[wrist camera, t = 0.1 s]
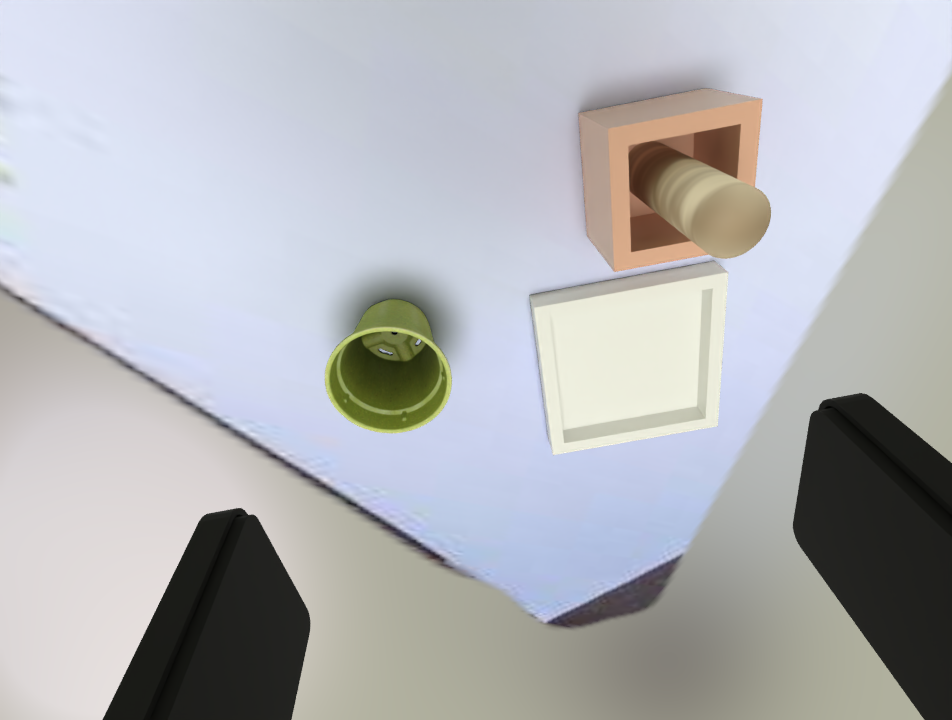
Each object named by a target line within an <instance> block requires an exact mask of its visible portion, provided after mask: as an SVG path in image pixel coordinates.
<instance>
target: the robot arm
mask: <svg viewBox="0 0 952 720" xmlns="http://www.w3.org/2000/svg"><path fill="white" fill-rule="evenodd" d="M793 530H794V534H795V537H796V539H797V542H798V544H799V545H800V547H801V548H802V550H803V551H804V553H805V554H806V555H807V556H808V558H809V560H810V561H811V562H812V563H813V565H814V567H815V568H816V569H817V571H818V572H819V574H820V575H821V576H822V578H823V579H824V580H825V582H826V583H827V585H828V586H829V587H830V589H831V590H832V592H833V593H834V594H835V596H836V597H837V599H838V600H839V601H840V603H841V604H842V605H843V607H844V608H845V610H846V611H847V613H848V614H849V615H850V617H851V618H852V619H853V621H854V622H855V624H856V625H857V626H858V628H859V629H860V631H861V632H862V633H863V635H864V636H865V638H866V639H867V640H868V642H869V643H870V645H871V646H872V647H873V649H874V650H875V652H876V653H877V654H878V656H879V657H880V658H881V660H882V661H883V663H884V664H885V665H886V667H887V668H888V670H889V671H890V672H891V674H892V675H893V677H894V678H895V679H896V681H897V682H898V683H899V685H900V686H901V688H902V689H903V690H904V692H905V693H906V695H907V696H908V697H909V699H910V700H911V702H912V703H913V704H914V706H915V707H916V708H917V710H918V711H919V713H920V714H921V716H922V717H923V718H924V719H925V720H952V463H951V462H950V461H948V460H947V459H946V458H945V457H943V456H942V455H941V454H940V453H939V452H937V451H936V450H935V449H934V448H932V447H931V446H930V445H929V444H928V443H926V442H925V441H924V440H923V439H922V438H920V437H919V436H918V435H917V434H916V433H914V432H913V431H912V430H911V429H910V428H908V427H907V426H906V425H904V424H903V423H902V422H901V421H900V420H899V419H897V418H896V417H895V416H893V414H891V413H890V412H889V411H888V410H886V409H885V408H884V407H883V406H882V405H880V404H879V403H878V402H877V401H876V400H874V399H873V398H872V397H870V396H868V395H867V394H862V393H859V394H854V395H848V396H843V397H838V398H832V399H827V400H824V401H823V402H822V403H821V404H820V406H819V409H818V410H817V411H814V412H813V413H812V414H811V417H810V421H809V427H808V434H807V440H806V447H805V452H804V458H803V465H802V471H801V478H800V483H799V490H798V496H797V502H796V509H795V514H794V521H793ZM309 633H310V617H309V613H308V610H307V608H306V606H305V604H304V602H303V600H302V598H301V597H300V595H299V593H298V591H297V589H296V587H295V586H294V584H293V582H292V580H291V579H290V577H289V575H288V573H287V571H286V569H285V567H284V566H283V564H282V562H281V560H280V558H279V556H278V555H277V553H276V551H275V549H274V547H273V546H272V544H271V542H270V540H269V538H268V536H267V534H266V533H265V531H264V529H263V527H262V525H261V523H260V522H259V520H258V518H257V517H256V516H255V515H248V514H247V513H246V512H245V510H243V509H241V508H236V509H231V510H226V511H220V512H215V513H209V514H206V515H204V516H203V517H202V518H201V520H200V521H199V523H198V525H197V527H196V529H195V531H194V533H193V535H192V537H191V540H190V541H189V543H188V545H187V548H186V550H185V552H184V554H183V556H182V558H181V560H180V562H179V564H178V566H177V568H176V570H175V572H174V574H173V576H172V578H171V581H170V582H169V585H168V587H167V589H166V591H165V593H164V595H163V597H162V599H161V601H160V603H159V605H158V607H157V609H156V611H155V613H154V615H153V617H152V619H151V622H150V624H149V626H148V628H147V630H146V632H145V634H144V636H143V638H142V640H141V642H140V644H139V646H138V648H137V650H136V652H135V654H134V657H133V658H132V661H131V663H130V665H129V667H128V669H127V671H126V673H125V675H124V677H123V679H122V681H121V683H120V685H119V687H118V689H117V691H116V694H115V695H114V698H113V700H112V702H111V704H110V706H109V708H108V710H107V712H106V714H105V716H104V718H103V720H291V719H292V714H293V709H294V705H295V700H296V694H297V690H298V685H299V680H300V676H301V671H302V666H303V661H304V657H305V652H306V647H307V643H308V638H309Z"/></svg>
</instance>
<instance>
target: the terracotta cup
mask: <svg viewBox="0 0 952 720" xmlns="http://www.w3.org/2000/svg"><path fill="white" fill-rule="evenodd" d="M761 111H762V99H761V98H755V97H750V96H745V95H740V94H735V93H729V92H724V91H719V90H714V89H709V88H704V89H699V90H694V91H688V92H683V93H678V94H673V95H668V96H663V97H658V98H652V99H647V100H642V101H637V102H632V103H627V104H622V105H616V106H611V107H606V108H601V109H596V110H591V111H586V112H580V113H578V115H579V130H580V144H581V158H582V173H583V187H584V202H585V216H586V230H587V237H588V238H589V239H590V241H591V242H592V243H593V245H594V246H595V247H596V248H597V250H598V251H599V252H600V254H601V255H602V256H603V258H604V259H605V260H606V262H607V263H608V264H609V266H610V267H611V268H612V269H613V271H614V272H616V271H622V270H627V269H632V268H638V267H643V266H649V265H654V264H659V263H665V262H670V261H676V260H681V259H686V258H692V257H697V256H703V255H708V253H706V252H705V251H704V250H702V249H701V248H700V247H699V246H697V245H696V244H695V243H694V242H692V241H691V240H690V239H689V238H687V237H686V236H685V235H684V234H682V233H681V232H680V231H678V230H677V229H676V228H675V227H673V226H672V225H671V224H670V223H668V222H667V221H666V220H665V219H663V218H662V217H661V216H660V215H658V214H657V213H656V212H655V211H653V210H652V209H651V208H650V207H648V206H647V205H646V204H645V203H643V202H642V201H641V200H640V199H638V198H637V197H636V196H635V195H633V194H632V193H631V192H630V191H629V160H628V153H629V152H630V151H631V150H632V149H633V148H634V147H635V146H637V145H639V144H641V143H644V142H649V141H656V142H660V143H662V144H664V145H666V146H669V147H671V148H673V149H675V150H677V151H679V152H681V153H683V154H685V155H688V156H690V157H692V158H694V159H696V160H698V161H700V162H702V163H704V164H707V165H709V166H711V167H713V168H715V169H717V170H719V171H721V172H723V173H726V174H728V175H730V176H732V177H734V178H736V179H738V180H740V181H742V182H745V183H747V184H749V185H751V186H753V187H755V179H756V167H757V156H758V145H759V133H760V122H761Z"/></svg>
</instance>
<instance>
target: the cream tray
mask: <svg viewBox="0 0 952 720" xmlns="http://www.w3.org/2000/svg"><path fill="white" fill-rule="evenodd" d="M727 284H728V272H727V271H726V270H725V269H724V268H722V267H721V266H720V265H719V264H718V263H716V262H715V261H711V262H706V263H700V264H695V265H690V266H684V267H679V268H673V269H668V270H662V271H657V272H652V273H646V274H641V275H635V276H630V277H625V278H619V279H614V280H608V281H603V282H598V283H592V284H587V285H581V286H576V287H570V288H565V289H560V290H554V291H549V292H543V293H538V294H533V295H529V296H530V304H531V311H532V319H533V326H534V334H535V341H536V349H537V356H538V364H539V371H540V379H541V387H542V394H543V402H544V409H545V417H546V424H547V432H548V439H549V442H550V446H551V449H552V453H553V455H556V454H562V453H568V452H573V451H579V450H585V449H590V448H596V447H602V446H607V445H613V444H619V443H625V442H630V441H636V440H642V439H647V438H653V437H659V436H664V435H670V434H676V433H682V432H687V431H693V430H699V429H704V428H710V427H716V426H718V413H719V399H720V384H721V370H722V355H723V341H724V327H725V312H726V298H727Z"/></svg>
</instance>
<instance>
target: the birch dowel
mask: <svg viewBox="0 0 952 720" xmlns="http://www.w3.org/2000/svg"><path fill="white" fill-rule="evenodd" d="M628 160H629V191H630V192H631V193H632V194H633V195H635V196H636V197H637V198H638V199H640V200H641V201H642V202H643V203H645V204H646V205H647V206H648V207H650V208H651V209H652V210H653V211H655V212H656V213H657V214H658V215H660V216H661V217H662V218H663V219H665V220H666V221H667V222H668V223H670V224H671V225H672V226H673V227H675V228H676V229H677V230H678V231H680V232H681V233H682V234H684V235H685V236H686V237H687V238H689V239H690V240H691V241H692V242H694V243H695V244H696V245H697V246H699V247H700V248H701V249H702V250H704V251H705V252H706V253H708V254H709V255H711V256H713V257H716V258H722V259H727V258H733V257H737V256H739V255H742V254H744V253H746V252H747V251H749V250H750V249H751V248H753V247H754V246H755V245H756V244H757V243H758V242H759V241H760V240H761V238H762V237H763V236H764V234H765V232H766V230H767V228H768V226H769V222H770V217H771V208H770V203H769V201H768V199H767V197H766V195H765V194H764V193H763V192H762V191H760V190H759V189H757V188H755V187H753V186H751V185H749V184H747V183H745V182H742V181H740V180H738V179H736V178H734V177H732V176H730V175H728V174H726V173H723V172H721V171H719V170H717V169H715V168H713V167H711V166H709V165H707V164H704V163H702V162H700V161H698V160H696V159H694V158H692V157H690V156H688V155H685V154H683V153H681V152H679V151H677V150H675V149H673V148H671V147H669V146H666V145H664V144H662V143H660V142H656V141H649V142H644V143H641V144H639V145H637V146H635V147H634V148H633V149H632V150H631V151H630V152H629V153H628Z"/></svg>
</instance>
